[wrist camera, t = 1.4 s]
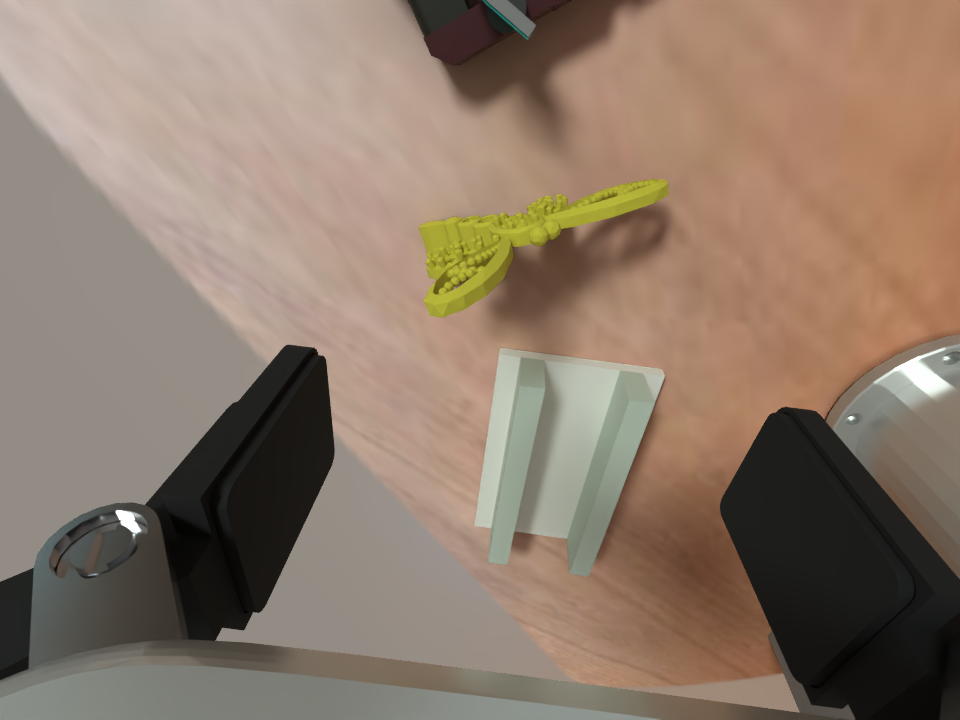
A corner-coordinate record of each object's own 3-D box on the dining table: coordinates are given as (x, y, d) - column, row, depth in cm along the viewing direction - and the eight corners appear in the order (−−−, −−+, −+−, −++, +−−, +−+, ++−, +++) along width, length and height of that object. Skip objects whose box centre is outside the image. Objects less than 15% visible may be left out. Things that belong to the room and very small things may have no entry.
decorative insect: (527, 172, 28) (675, 164, 20) (538, 225, 30) (679, 236, 22) (332, 258, 23) (433, 291, 15) (358, 316, 25) (461, 373, 17)
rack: (661, 369, 29) (678, 407, 25) (599, 535, 37) (606, 579, 34) (500, 347, 29) (496, 382, 26) (475, 517, 37) (470, 559, 34)
